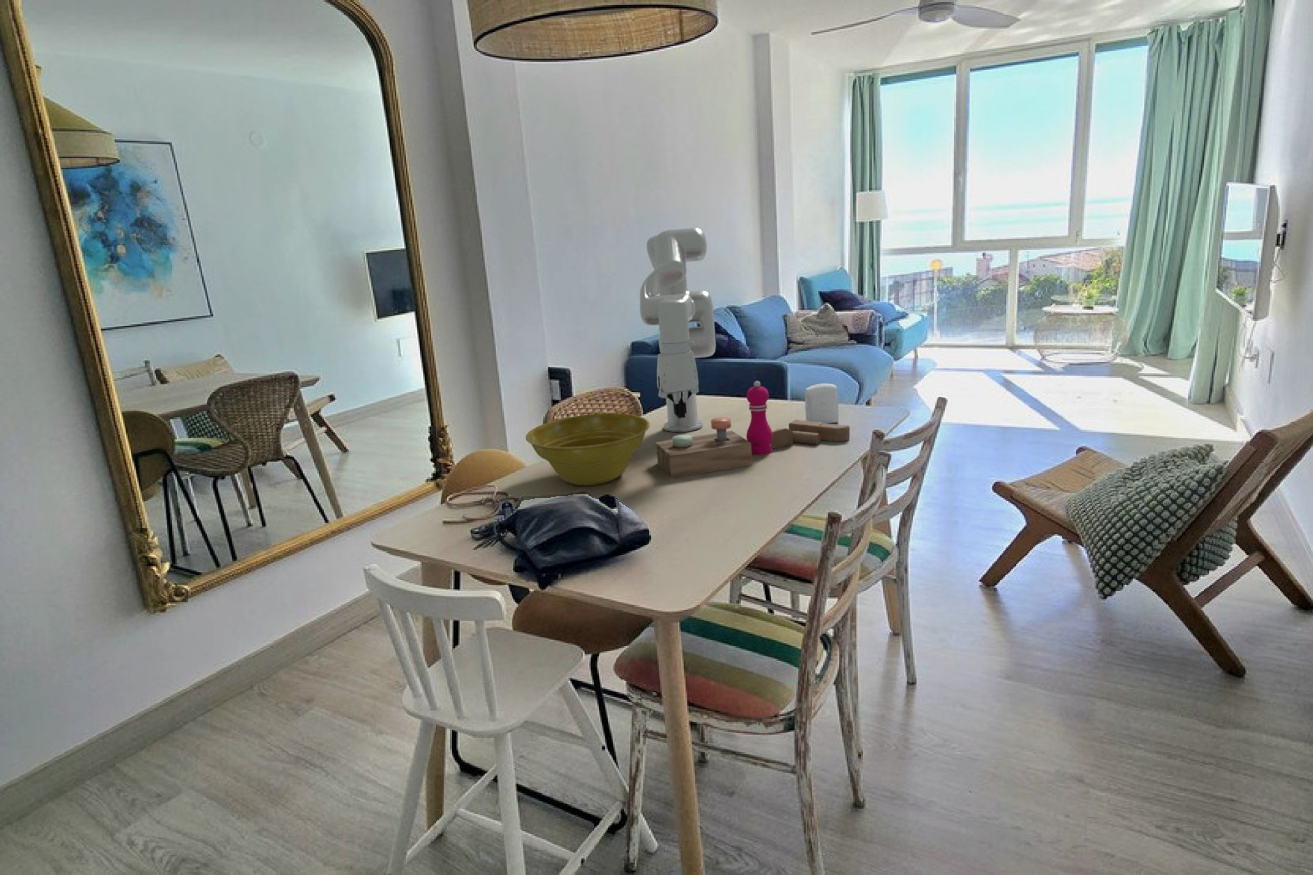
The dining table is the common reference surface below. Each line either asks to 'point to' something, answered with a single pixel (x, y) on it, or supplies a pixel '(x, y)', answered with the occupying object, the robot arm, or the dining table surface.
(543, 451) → the planter bowl
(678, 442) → the green button
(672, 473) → the button panel
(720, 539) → the dining table surface
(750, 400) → the pepper mill
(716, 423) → the red button
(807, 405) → the photo printer
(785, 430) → the wooden block set
